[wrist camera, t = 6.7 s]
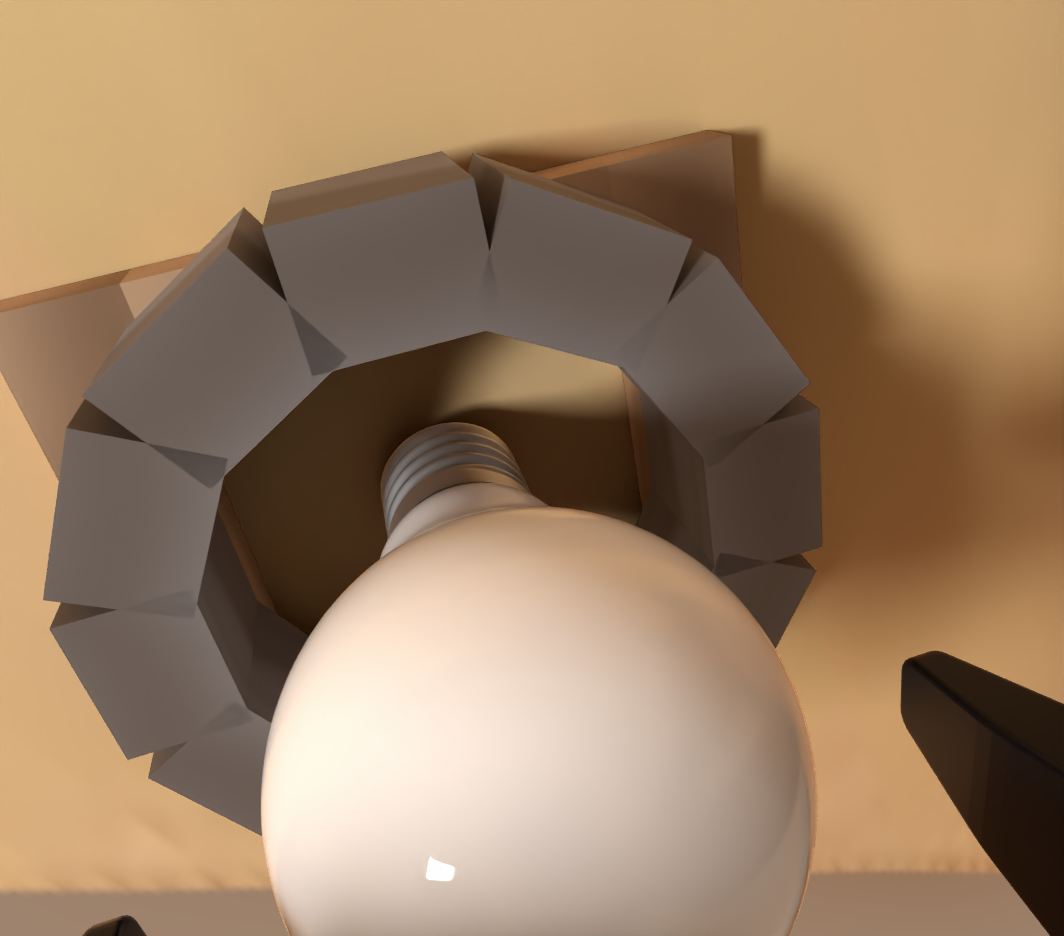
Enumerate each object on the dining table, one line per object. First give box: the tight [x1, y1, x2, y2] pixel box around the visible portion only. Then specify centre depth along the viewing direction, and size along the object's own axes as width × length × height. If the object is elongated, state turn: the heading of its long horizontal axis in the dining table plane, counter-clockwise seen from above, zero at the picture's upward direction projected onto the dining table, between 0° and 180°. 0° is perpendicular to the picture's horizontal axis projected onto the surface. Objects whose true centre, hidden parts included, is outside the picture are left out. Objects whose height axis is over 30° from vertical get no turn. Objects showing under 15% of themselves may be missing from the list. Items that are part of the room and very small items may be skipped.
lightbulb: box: [261, 422, 817, 936], centre depth 12 cm, size 6×6×11 cm
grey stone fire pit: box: [0, 130, 822, 836], centre depth 15 cm, size 12×12×4 cm
